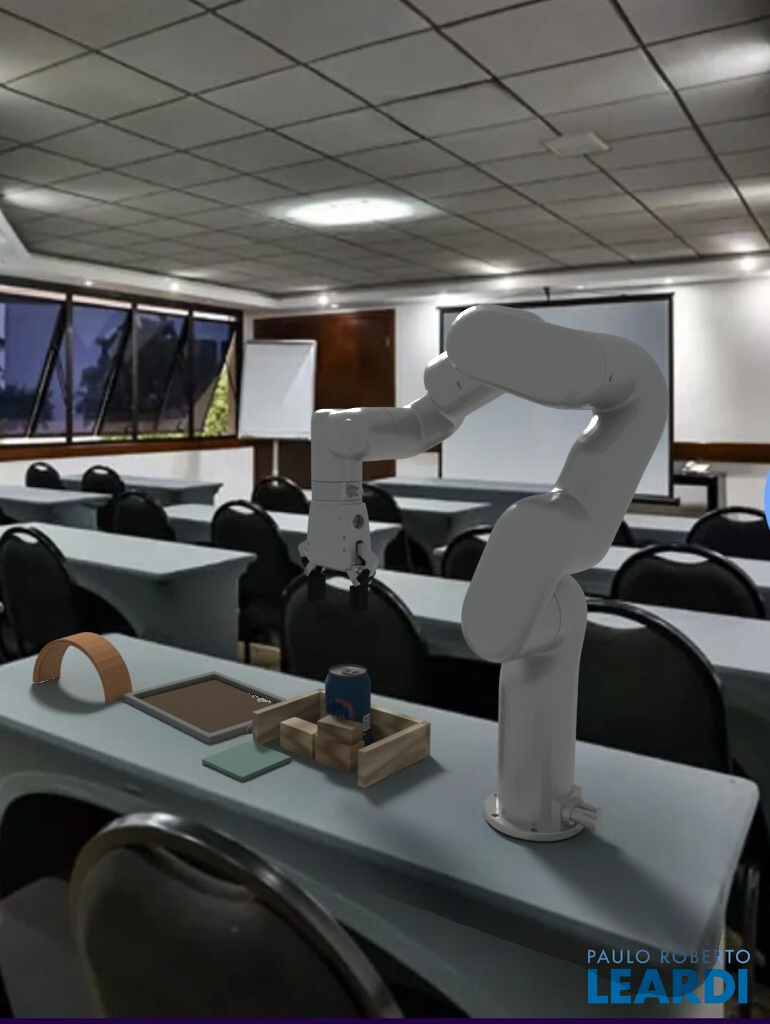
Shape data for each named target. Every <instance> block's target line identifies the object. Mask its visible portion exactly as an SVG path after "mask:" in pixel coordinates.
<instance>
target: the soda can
mask: <svg viewBox="0 0 770 1024" xmlns="http://www.w3.org/2000/svg"><path fill="white" fill-rule="evenodd" d="M324 690H325V717H326V716H328V715H330V716H334V717H339V718H343V719H347V720H351V721H355V722H360V723H363V740H362V741H364V747H366V746H368V744H369V743H370V740H371V739H370V738H371V704H372V702H371V701H372V699H371V698H372V697H371V695H372V694H371V693H372V680H371V678H370V675H369V674H368V670H367V668H366V667H365V666H363V665H360V664H355V663H353V664H352V663H343V664H337V665H336V664H335V665H333V666H331V667H329V669H328V674H327V676H326V678H325V680H324Z"/></svg>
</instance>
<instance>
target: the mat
mask: <svg viewBox="0 0 770 1024" xmlns="http://www.w3.org/2000/svg"><path fill="white" fill-rule="evenodd" d="M291 759H292V758H291V755H287V754H285V753H282V752H279V751H278V750H275V749H272V748H269V747H267V746H264V745H263V744H261V745H260V744H257V743H255V742H253V740H248V741H246V742H243V743H240V744H238V745H235V746H233V747H230V748H227V749H224V750H222V751H220V752H218V753H215V754H212V755H211V754H210V755H209V756H207V757H204V758H202V759H201V763H202V764H203V765H205V766H208V767H210V768H212V769H215V770H217V771H219V772H221V773H223V774H225V775H228V776H229V777H232V778H234V779H237V780H239V781H241V782H243V781H247V780H248V779H251V778H253V777H256V776H259V775H260V774H263V773H265V772H267V771H270V770H273V769H274V768H277V767H279V766H282V765H284V764H287V763H289V762H291Z"/></svg>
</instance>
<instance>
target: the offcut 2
mask: <svg viewBox="0 0 770 1024" xmlns="http://www.w3.org/2000/svg"><path fill="white" fill-rule="evenodd" d="M362 748H364V741H362V740H361V741H359V742H358V743H356V744H354V745H353V746H350V745H346V744H342V743H339V742H335V741H331V740H327V739H323V738H319V737H317V734H316V735H315V759H314V761H316V762H318V763H321V764H323V765H326V766H329V767H331V768H333V769H336V770H338V771H341V772H343V773H346V774H348V775H351V774H353V773H356V772H358V750H360V749H362Z"/></svg>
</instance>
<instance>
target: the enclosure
mask: <svg viewBox="0 0 770 1024" xmlns="http://www.w3.org/2000/svg"><path fill="white" fill-rule="evenodd" d="M293 717H297V718H299V719H302V720H305V721H308V722H310V723H313V724H317V721H318V720H320V719H322V718H324V717H325V688H318V689H314V690H312V691H309V692H306V693H302V694H300V695H297V696H295V697H292V698H289V699H287V700H286V701H283V702H280V703H277V704H274V705H271V706H268V707H265V708H263V709H260V710H257V711H254V712H252V721H253V733H252V742H255V743H257V744H260V745H263V744H266V743H268V742H271V741H273V740H276V739H279V738H280V722H282V721H285V720H288V719H290V718H293ZM371 739H372V740H374V741H375V742H373V743H371V744H369V745H367V746H366V747H364V748H362V749H360V750H358V771H357V786H358V787H361V788H363V789H366V788H368V787H370V786H372V785H373V784H375V783H377V782H379V781H381V780H383V779H385V778H387V777H389V776H391V775H393V774H395V773H397V772H399V771H402V770H404V769H405V768H407V767H409V766H411V765H413V764H415V763H418V762H419V761H421V760H423V759H426V758H427V757H428V756H430V755H431V722H430V721H427V720H424V719H420V718H418V717H417V718H416V717H415V716H410V715H408V714H404V713H401V712H398V711H395V710H391V709H389V708H386V707H385V708H384V707H382V706H378V705H374V704H373V703H371V738H370V740H371Z"/></svg>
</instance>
